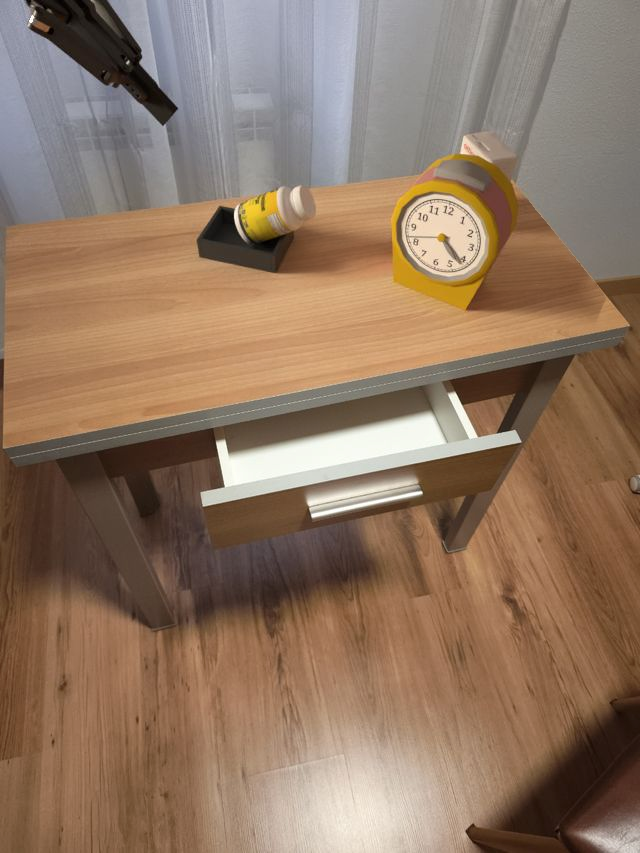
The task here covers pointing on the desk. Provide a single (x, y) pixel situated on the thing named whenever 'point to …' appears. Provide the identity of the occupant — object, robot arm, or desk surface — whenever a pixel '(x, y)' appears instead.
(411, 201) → the alarm clock
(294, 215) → the pill bottle
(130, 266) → the desk surface
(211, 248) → the bin
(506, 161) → the ink box
